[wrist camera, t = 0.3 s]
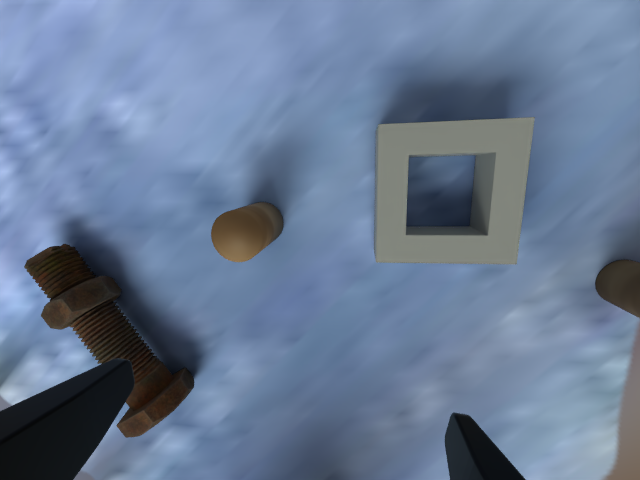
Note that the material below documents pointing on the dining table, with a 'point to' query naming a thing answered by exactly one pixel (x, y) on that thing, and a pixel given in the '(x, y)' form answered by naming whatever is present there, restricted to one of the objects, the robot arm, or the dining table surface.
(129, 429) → the bolt
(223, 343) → the dining table surface
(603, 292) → the long dowel
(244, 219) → the short dowel
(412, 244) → the hole block
